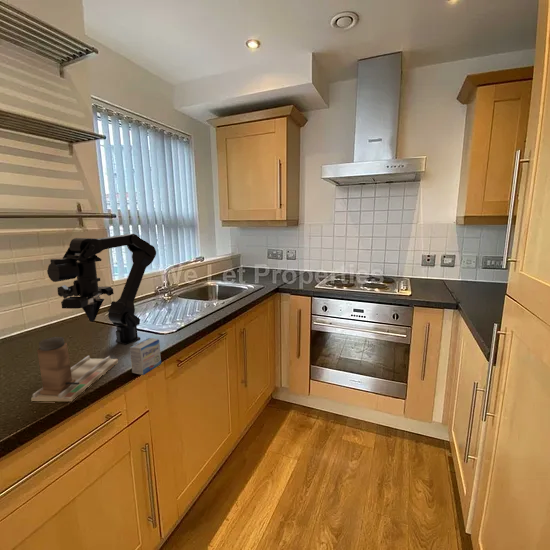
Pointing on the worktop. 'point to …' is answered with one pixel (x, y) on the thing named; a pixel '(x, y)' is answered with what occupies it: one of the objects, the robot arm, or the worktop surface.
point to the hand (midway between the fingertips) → (92, 321)
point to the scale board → (80, 378)
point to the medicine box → (145, 356)
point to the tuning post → (54, 366)
